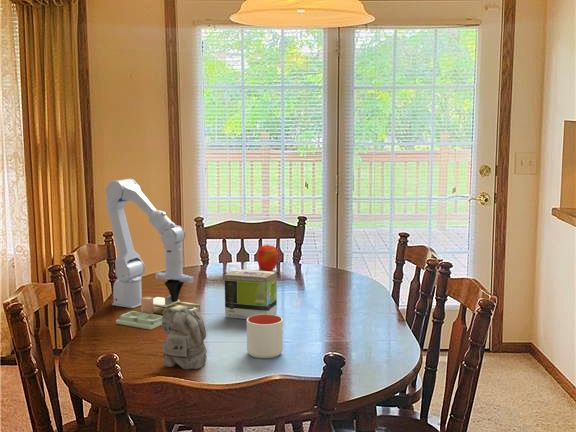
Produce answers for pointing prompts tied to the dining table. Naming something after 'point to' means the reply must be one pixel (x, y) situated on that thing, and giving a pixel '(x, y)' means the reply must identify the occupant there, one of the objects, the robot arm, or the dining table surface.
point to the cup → (264, 336)
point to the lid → (163, 301)
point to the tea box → (250, 293)
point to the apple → (267, 257)
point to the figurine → (184, 338)
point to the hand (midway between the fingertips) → (174, 301)
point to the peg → (147, 305)
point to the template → (178, 307)
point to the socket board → (140, 320)
